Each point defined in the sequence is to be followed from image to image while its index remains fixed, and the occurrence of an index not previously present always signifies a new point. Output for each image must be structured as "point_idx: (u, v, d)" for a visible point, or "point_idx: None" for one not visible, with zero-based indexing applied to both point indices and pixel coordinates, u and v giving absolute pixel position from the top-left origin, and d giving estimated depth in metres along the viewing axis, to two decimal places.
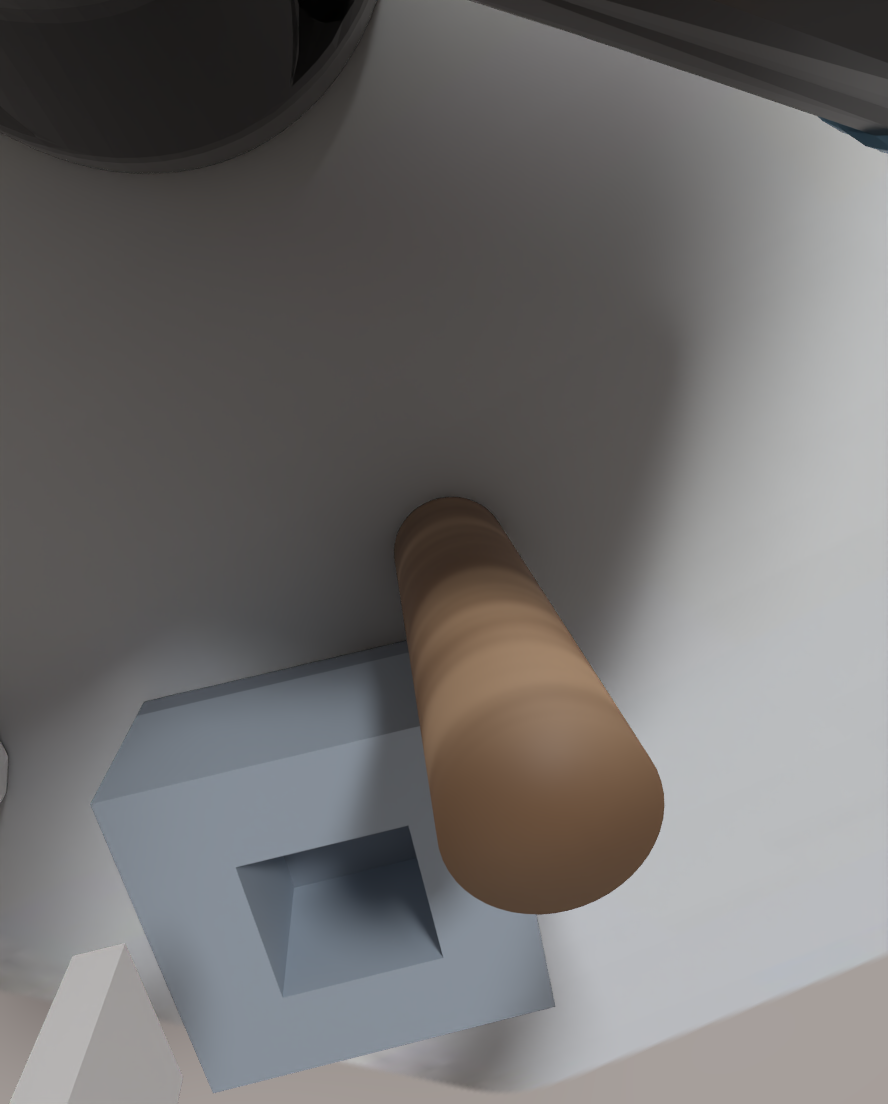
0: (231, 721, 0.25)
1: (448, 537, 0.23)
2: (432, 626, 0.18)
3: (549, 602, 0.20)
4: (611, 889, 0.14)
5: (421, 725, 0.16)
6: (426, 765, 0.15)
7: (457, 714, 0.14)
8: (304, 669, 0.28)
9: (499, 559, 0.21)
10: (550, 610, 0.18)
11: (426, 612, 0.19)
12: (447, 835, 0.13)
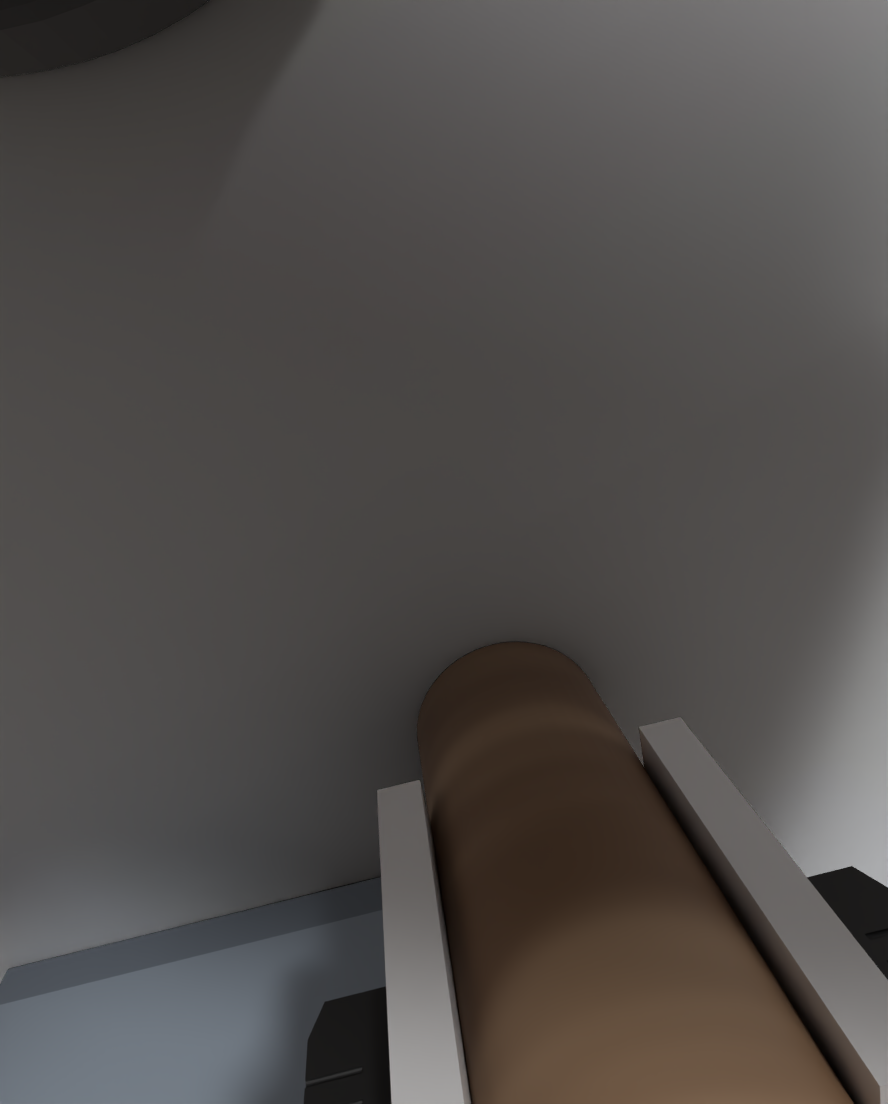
0: (135, 1052, 0.14)
1: (530, 771, 0.12)
2: None
3: (783, 992, 0.09)
4: None
5: None
6: None
7: None
8: (269, 917, 0.17)
9: (654, 861, 0.10)
10: (826, 1078, 0.07)
11: (516, 1049, 0.08)
12: None
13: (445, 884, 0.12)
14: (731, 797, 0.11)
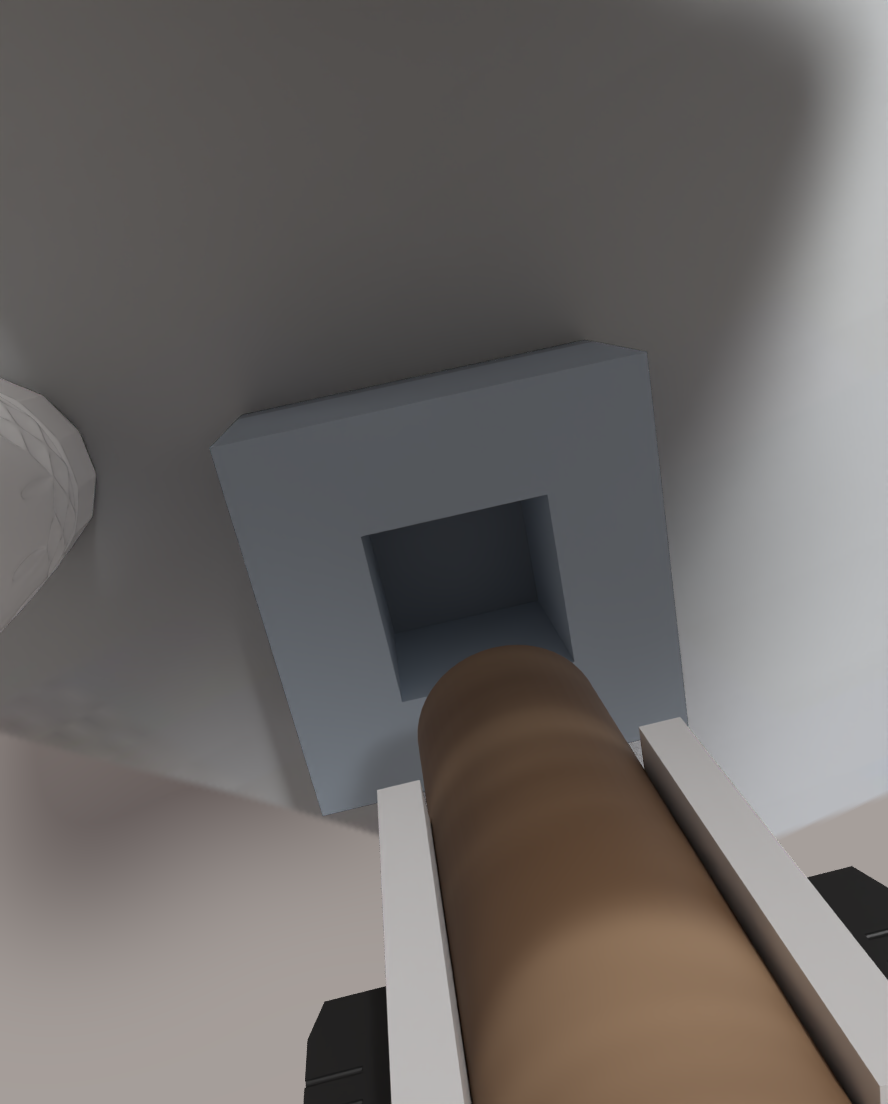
0: (346, 403, 0.23)
1: (532, 775, 0.12)
2: None
3: (785, 998, 0.09)
4: None
5: None
6: None
7: None
8: (413, 378, 0.26)
9: (656, 867, 0.10)
10: (829, 1086, 0.07)
11: (518, 1057, 0.08)
12: None
13: (446, 889, 0.12)
14: (731, 797, 0.11)
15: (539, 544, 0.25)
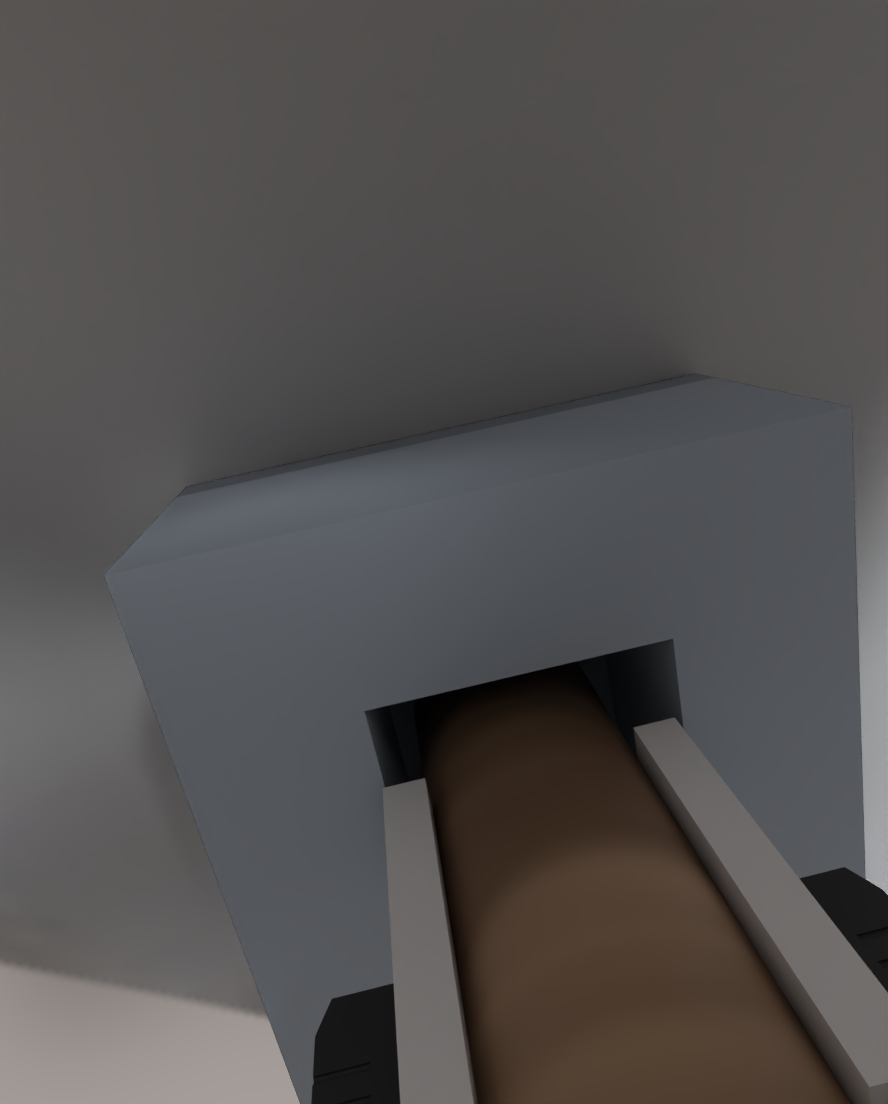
0: (342, 480, 0.15)
1: (518, 737, 0.13)
2: (522, 1048, 0.08)
3: (741, 927, 0.10)
4: None
5: None
6: None
7: None
8: (443, 432, 0.17)
9: (628, 814, 0.11)
10: (772, 993, 0.08)
11: (500, 972, 0.09)
12: None
13: (439, 841, 0.13)
14: (725, 798, 0.11)
15: (636, 687, 0.16)
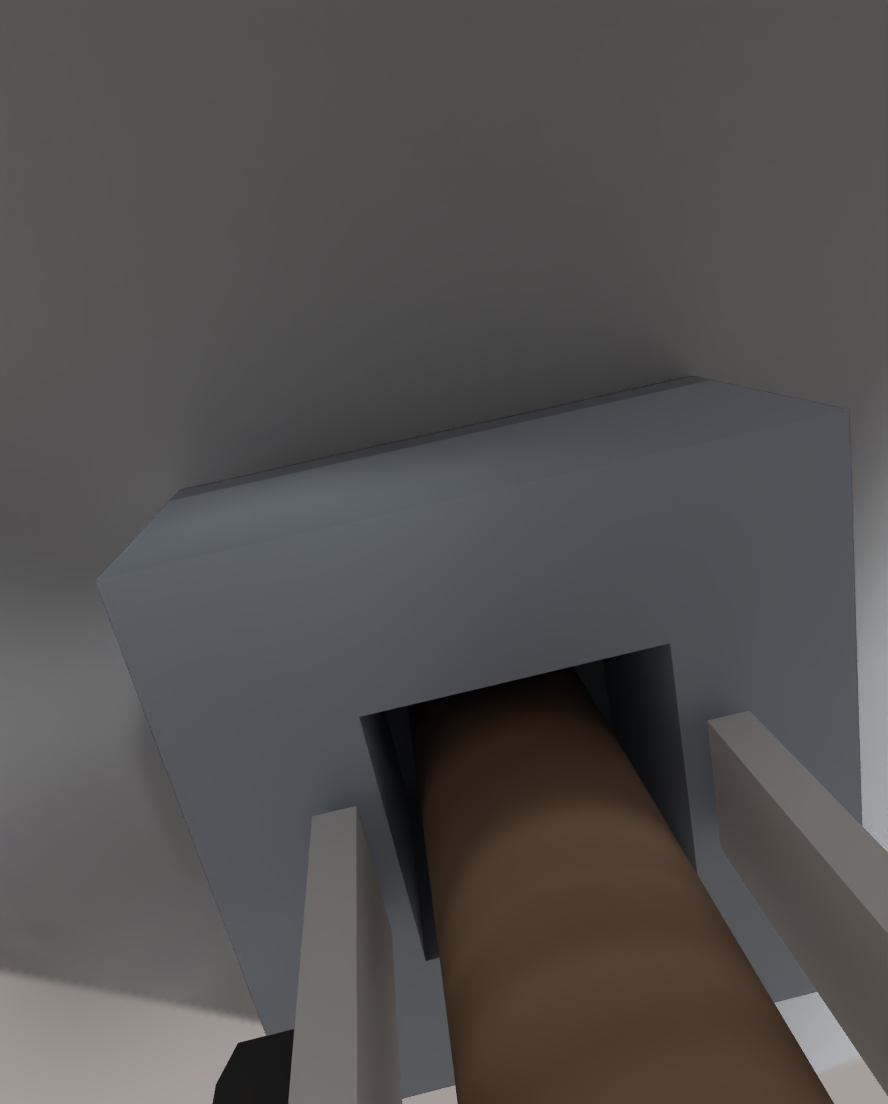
0: (337, 483, 0.15)
1: (497, 711, 0.14)
2: (492, 976, 0.09)
3: (696, 875, 0.11)
4: None
5: None
6: None
7: None
8: (439, 435, 0.17)
9: (595, 777, 0.12)
10: (717, 927, 0.09)
11: (475, 915, 0.10)
12: None
13: (425, 808, 0.14)
14: (815, 791, 0.11)
15: (633, 691, 0.16)
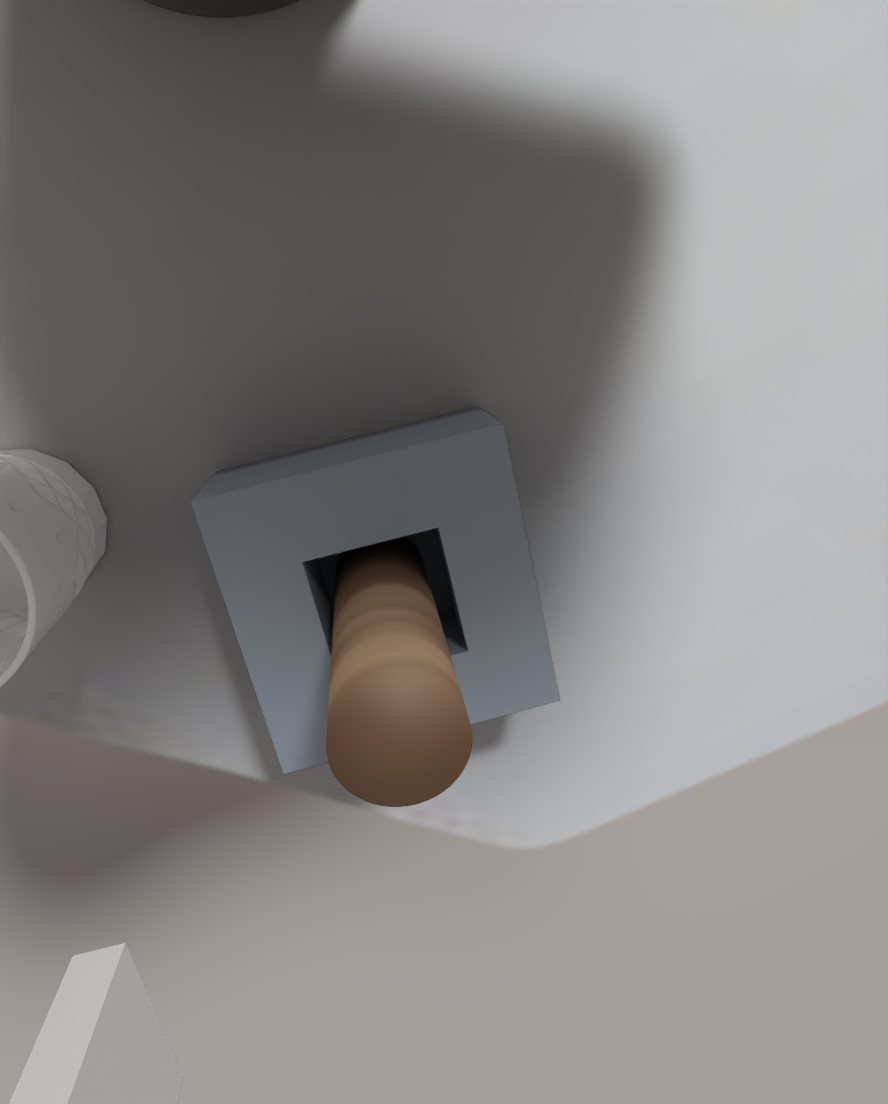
0: (293, 463, 0.31)
1: (367, 562, 0.30)
2: (342, 627, 0.26)
3: (431, 607, 0.27)
4: (444, 789, 0.22)
5: None
6: None
7: (342, 680, 0.22)
8: (347, 440, 0.34)
9: (398, 578, 0.28)
10: (425, 612, 0.26)
11: (341, 618, 0.27)
12: (333, 754, 0.21)
13: (334, 605, 0.30)
14: None
15: (444, 563, 0.33)
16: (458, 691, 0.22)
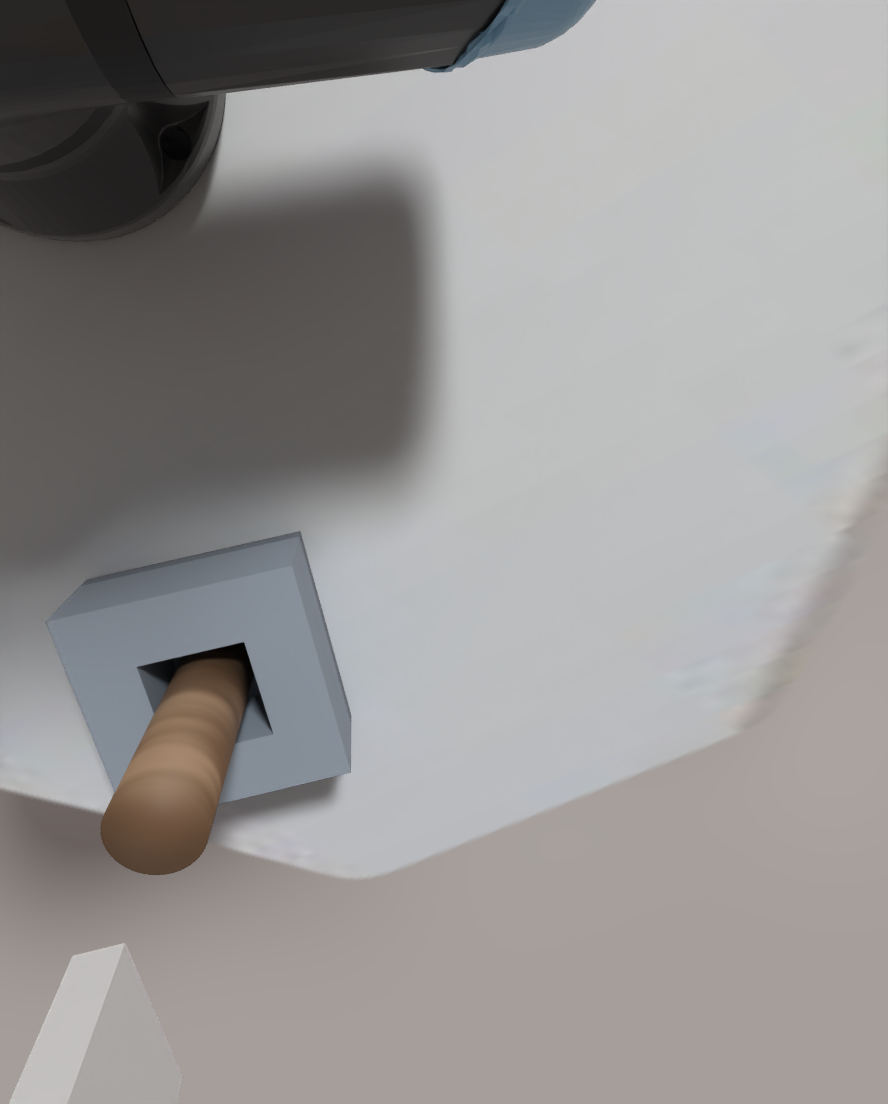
0: (138, 583, 0.40)
1: (190, 666, 0.39)
2: (146, 730, 0.34)
3: (223, 711, 0.36)
4: (191, 863, 0.30)
5: None
6: None
7: (121, 782, 0.30)
8: (191, 557, 0.42)
9: (205, 684, 0.37)
10: (212, 719, 0.35)
11: (151, 719, 0.35)
12: (107, 838, 0.29)
13: None
14: None
15: None
16: (204, 792, 0.30)
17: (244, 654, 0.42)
